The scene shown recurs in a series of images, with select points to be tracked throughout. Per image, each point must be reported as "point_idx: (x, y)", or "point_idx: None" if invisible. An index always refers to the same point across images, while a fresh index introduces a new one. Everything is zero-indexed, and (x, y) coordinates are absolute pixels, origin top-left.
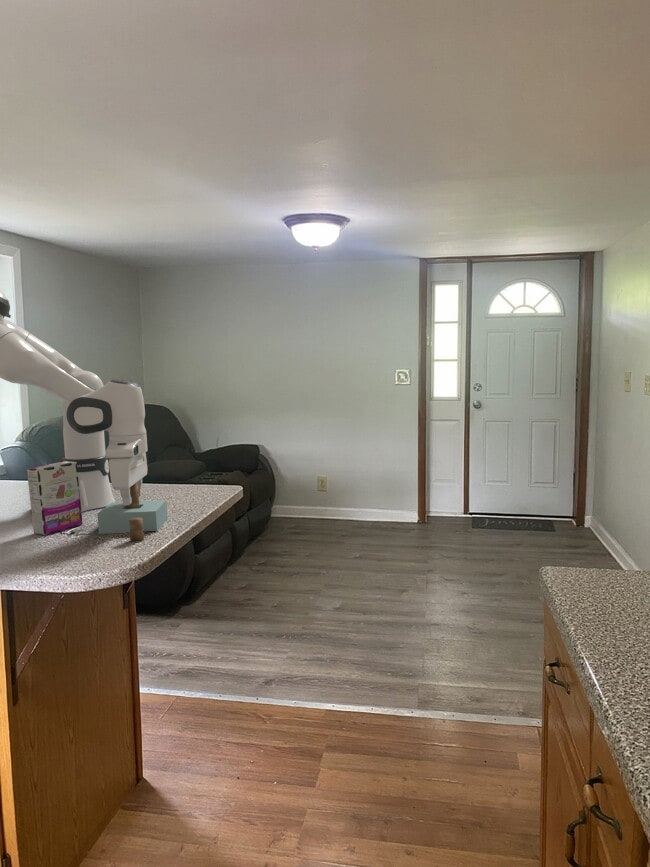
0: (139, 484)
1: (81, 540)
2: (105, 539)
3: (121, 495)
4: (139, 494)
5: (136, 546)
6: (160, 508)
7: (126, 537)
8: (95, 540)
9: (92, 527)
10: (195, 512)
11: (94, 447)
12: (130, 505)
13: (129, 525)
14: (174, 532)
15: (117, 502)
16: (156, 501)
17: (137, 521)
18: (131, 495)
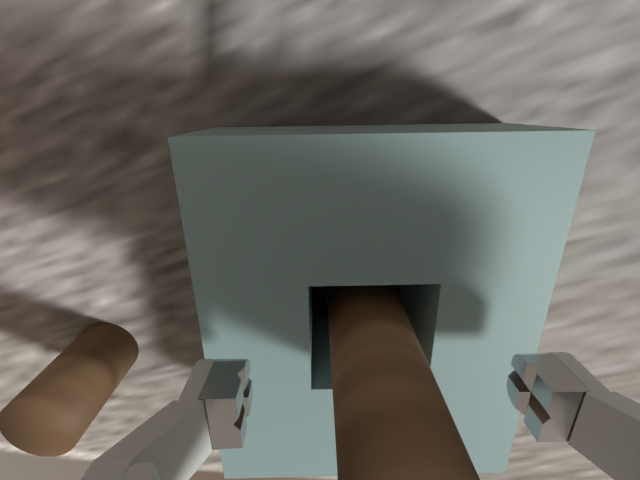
0: (629, 476)
1: (74, 64)
2: (108, 202)
3: (140, 428)
4: (515, 404)
5: (19, 365)
6: None
7: (150, 292)
8: (84, 153)
9: (379, 22)
10: (546, 457)
11: None
12: (330, 348)
13: (37, 378)
14: None
15: (571, 183)
16: (489, 433)
17: (16, 437)
18: (334, 422)
